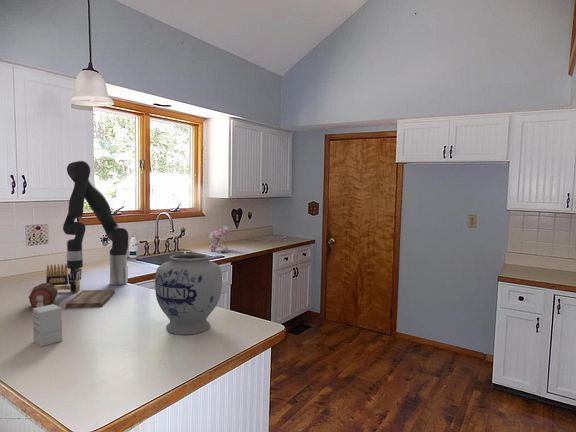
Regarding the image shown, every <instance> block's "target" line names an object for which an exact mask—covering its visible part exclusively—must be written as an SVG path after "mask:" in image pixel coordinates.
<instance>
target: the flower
mask: <svg viewBox="0 0 576 432" xmlns="http://www.w3.org/2000/svg"><path fill="white" fill-rule="evenodd" d="M229 230H230V228H229V226H228V225H227V226H225V225H223V227H222V229H221V228H220V229H219V231H218V230H214V231H210V232H209V233H208V237H209V239H211V244H210V246H208V251H210V252H213V251H215V252H216V251H217V250H218V248H221V250H220V251H219V253H221V252H222V253H225V252H229V253H231V251H230V250H229V248H228V246H227V244H226V242H225V240H227V238H230V239H231V236H229V232H228V231H229ZM220 240H221V241H222V242H219V241H220ZM222 243H223V244H224V246H225V247H223V246H222Z"/></svg>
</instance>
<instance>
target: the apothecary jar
mask: <svg viewBox="0 0 576 432" xmlns="http://www.w3.org/2000/svg"><path fill="white" fill-rule="evenodd" d="M169 259H170V260H169V261H166V262H163V263H162V264H160V265H159V266H158V267H157V268H156V271H155V279H154V287H155V297H156V301H157V304H158V306H159V307H160V310H161V311H162V312H163V313H164V315H165V316H166V317H167V319H168V320H169V322H168V323H167V325H166V326H165V328H166V330H167V331H168V332H169V333H171V334H174V335H178V336H179V335H181V336H182V335H183V336H187V335H189V336H190V335H196V334H201V333H203V332H206V331H207V330H208V329H209V328H210V327H211V323H210V321H208V320H207V319H208V317H209V316H210V314H211V313H212V312H213V311H214V310H215V308H216V307H217V306H218V303H219V302H220V298H221V293H222V288H223V279H222V278H223V277H222V269H221V267H220V265H219V264H218V263H216V262H213V261H211V260H209V259H210V256H209V255H208V254H206V253H205V254H204V253H176V254H172V255H169Z"/></svg>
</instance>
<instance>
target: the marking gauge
mask: <svg viewBox="0 0 576 432" xmlns="http://www.w3.org/2000/svg"><path fill="white" fill-rule="evenodd" d="M72 282H73V281H72ZM54 287H55V289H56V291H57V292H58V291H59V290H61V291H62V290H63V291H66V290H67V291H68V290H70V294H78V292H79V293H80V292H81V280H76V291H75V292H71V285H70V284H64V285H54Z"/></svg>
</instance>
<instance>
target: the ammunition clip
mask: <svg viewBox="0 0 576 432" xmlns="http://www.w3.org/2000/svg"><path fill="white" fill-rule="evenodd" d="M45 273H46V276H45V277H46V282H45V283H50V284H52V285H54V286H55V285H69V280H68V274H69V273H68V268H67V263H65V264H63V263H61V266H60V263H58V264H57V265H56V263H54V265H53V264H52V263H51V264H50V266H49V264H47V265H46V272H45Z"/></svg>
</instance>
